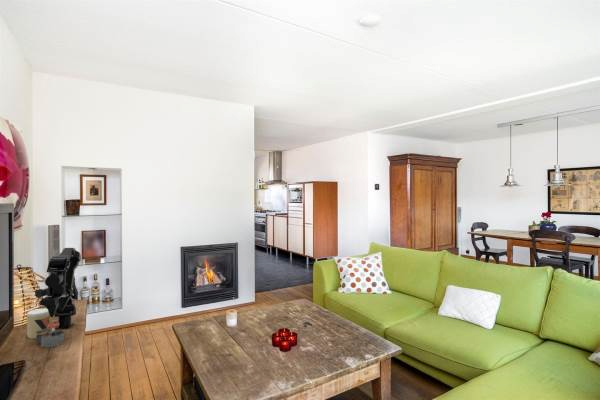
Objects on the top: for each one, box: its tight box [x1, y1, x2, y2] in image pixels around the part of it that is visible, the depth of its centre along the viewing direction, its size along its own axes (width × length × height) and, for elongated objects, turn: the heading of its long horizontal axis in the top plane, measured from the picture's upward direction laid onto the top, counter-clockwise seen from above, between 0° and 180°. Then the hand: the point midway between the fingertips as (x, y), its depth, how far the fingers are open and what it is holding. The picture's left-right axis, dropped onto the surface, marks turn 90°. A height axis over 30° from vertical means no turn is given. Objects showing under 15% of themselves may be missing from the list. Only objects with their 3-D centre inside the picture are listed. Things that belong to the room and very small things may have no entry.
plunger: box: [48, 321, 59, 335], centre depth 154 cm, size 4×4×5 cm
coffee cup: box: [26, 308, 51, 339], centre depth 163 cm, size 9×9×12 cm
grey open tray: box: [35, 330, 65, 348], centre depth 154 cm, size 8×11×4 cm
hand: (56, 314), depth 159 cm, fingers open, 8 cm apart
